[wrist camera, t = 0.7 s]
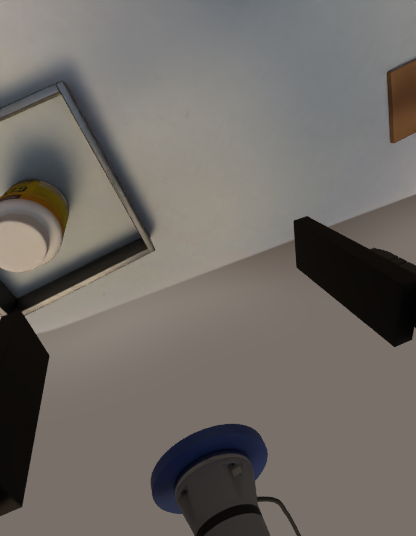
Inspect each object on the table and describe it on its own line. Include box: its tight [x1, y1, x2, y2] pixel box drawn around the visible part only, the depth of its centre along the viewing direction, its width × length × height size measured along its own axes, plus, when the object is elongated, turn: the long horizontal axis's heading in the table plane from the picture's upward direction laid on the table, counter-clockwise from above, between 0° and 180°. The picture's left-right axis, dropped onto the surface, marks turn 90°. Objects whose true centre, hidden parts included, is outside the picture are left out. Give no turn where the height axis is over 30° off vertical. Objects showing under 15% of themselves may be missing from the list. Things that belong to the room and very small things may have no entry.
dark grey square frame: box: [0, 81, 155, 317], centre depth 29 cm, size 16×16×4 cm
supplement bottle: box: [0, 179, 69, 272], centre depth 27 cm, size 6×6×10 cm
